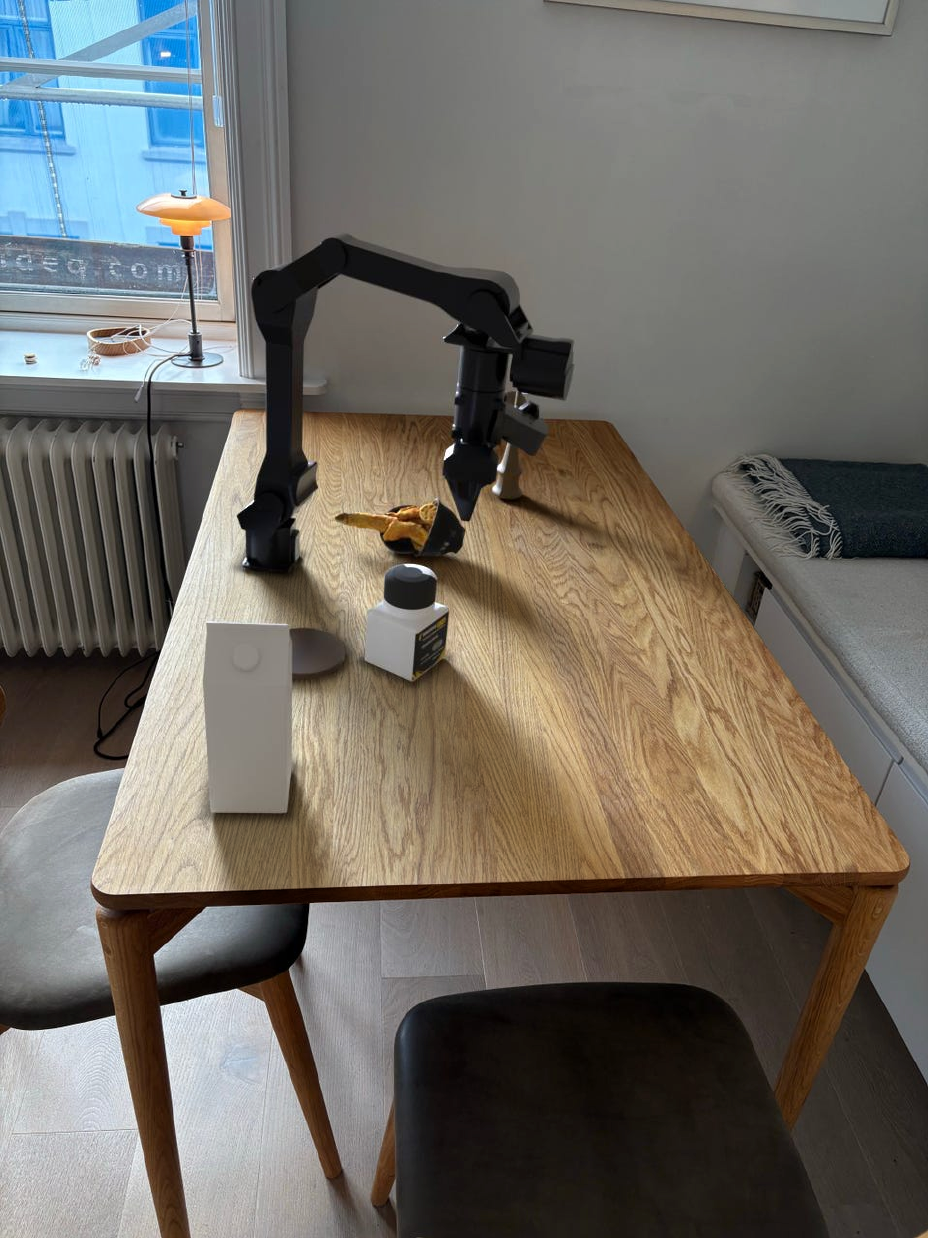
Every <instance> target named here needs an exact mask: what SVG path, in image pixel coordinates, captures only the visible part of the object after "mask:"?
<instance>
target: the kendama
mask: <svg viewBox="0 0 928 1238" xmlns="http://www.w3.org/2000/svg"><path fill="white" fill-rule="evenodd" d="M505 393H506V394H507V400H506V404H509V405H511V406H513V407H516V405H517V406H519V407H521V406H522V405H524V404H525V403H526V402H528V401H527V399H526V396H525V395H524V394H523V393H518V392H517V390H516V391H515V390H507V391H506V390H505ZM506 443H507V442H506ZM519 455H520V454H519V448H517V447H515V446H513V445H511V444H509V443H507V444H506V447H505V451H504V454H503V457H502V459H501V462H500V463H498V467H497V475H498V476H497V479H496V482H495V484H494V485H493V487H492V488H491V491H492V494H493V495H494V496H495V497H496V498H499V499H503V500H516V499H519V498H521V497H522V495H523V492H522V488H521V487H520V476H521V475H522V474H523V472H524V471H523V468H522V467H521V465H520V456H519Z"/></svg>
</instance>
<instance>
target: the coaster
mask: <svg viewBox="0 0 928 1238" xmlns="http://www.w3.org/2000/svg"><path fill="white" fill-rule="evenodd" d="M289 635H290V637H291V640H292V680H293V679H294V680H310V679H318V678H322V677H326V676H327V675H330V674H332V673H334V672H336V671H337V670H338V669H339V668H340V667H342V665H343V663H344V662H345V661H346V660H345V659H346V646H345V644H344V642H343V641H342V640H341V639H340V638H339V637H337V635H335V634H333V633H331V632H329V631H326V630H323V629H319V628H312V627H294V628H293V627H292V628H289Z"/></svg>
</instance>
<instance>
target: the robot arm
mask: <svg viewBox="0 0 928 1238" xmlns="http://www.w3.org/2000/svg"><path fill="white" fill-rule="evenodd" d="M339 276H344V277H346V278H350V279H353V280H356V281H360V282H362V283H367V284H369V285H372V286H376V287H378V288H382V289H385V290H388V291H391V292H394V293H397V294H400V295H403V296H406V297H410V298H413V299H416V300H419V301H422V302H425V303H429V304H431V305H433V306H435V307H437V308H438V309H440V310H441V311H442V312H444V314H446V315H447V316H449V317H450V318H451V319H453V320H455V321H456V322H458V323H457V325H456V326H455V328H454V329H453V330H452V331H450V332H449V333H448V334H446V335H445V336H444V337H443V342H444V343H445V344H448V345H455V346H460V351H459V352H460V353H459V363H458V372H457V373H458V375H457V383H456V392H455V395H454V402H453V403H454V404H453V405H454V416H453V424H452V429H451V435H450V438H451V439H453V441H454V443H453V444H452V445H450V446H449V447H448V448H446V450H445V454H444V458H443V464H442V474H441V475H442V476H443V478H444V480H446V482H447V485H448V488H449V490H450V493H451V495H452V498H453V501H454V505H455V507H456V510H457V512H458V515H459V518H460V521H462V522H467V523H468V522H471V520H472V517H473V514H474V510H475V508H476V505H477V502H478V499H479V496H480V494H481V491H482V489H483V488H485V487H486V486H490V485H492V484H494V483H496V482H497V475H498V471H497V467H498V465H499V459H500V458H499V457H500V456H499V453H497V452H496V450H495V448H496V447H497V446H502V440H503V441H504V442H505V443H509V444H511V445H513V446H515V447H517V448H518V450H522V451H523V452H524V453H525V454H526V455H528V456H531V457H536V456H537V454H538V452H539V450H540V449H541V447H542V445H543V443H544V441H545V439H546V438H547V436H548V434H549V426H548V423H547V422H546V419H544V418H540V404H538V403H537V402H536V403H535V402H534V401H532V400H528V401H527V402H526V403H525V404H524V405H522V406H521V407H519V406H517V405H516V407H513V406H511V405H509V404H506V400H507V394H506V393H505V392H506V387H507V378H508V372H509V382H510V383H511V385H512V388H514V389H516V392H518V393H522V394H523V395H531V396H536V397H541V398H548V399H552V400H556V401H557V400H558V401H563V402H565V401H566V400H567V397H568V396H569V393H570V389H571V385H572V379H573V375H574V369H575V363H573V362H574V345H575V340H574V339H572V338H568V337H550V336H544V335H539V334H533V333H534V328H533V326H532V323H531V322H530V320H529V319H528V317H527V315H526V312H525V311H524V309H523V307H522V305H521V303H520V301H521V293H520V288H519V286H518V284H517V282H516V281H515V279H514V277H513V276H512V275H511V274H509V273H507V272H505V271H503V270H496V269H488V268H478V267H453V266H445V265H441V264H439V263H435V262H432V261H429V260H425V259H422V258H420V257H416V256H413V255H410V254H406V253H403V252H400V251H397V250H393V249H390V248H388V247H385V246H381V245H377V244H374V243H371V242H368V241H365V240H361V239H358V238H356V237H355V236H353V235H351V234H349V233H344V232H341V233H338V234H335V235H332V236H329V237H327V238H325V239H324V240H322V241H321V242H320V244H318V245H317V246H316V247H314V248H313V249H311V250H309V252H307V253H305V254H303V255H302V256H300V257H299V258H297V259H295V260H294V261H286V262H284V263H281V264H278V265H276V266H273V267H271V268H268V269H265V270H263V271H261V272H260V273H259V274H258V275H256V276H255V278H253V280H252V283H251V286H250V298H251V304H252V305H251V306H252V311H253V316H254V322H255V324H256V326H257V328H258V330H259V332H260V334H261V336H262V338H263V341H264V346H265V347H264V348H265V350H264V351H265V355H264V356H265V359H264V360H265V361H264V362H265V453H264V457H263V460H262V462H261V465H260V468H259V470H258V473H257V475H256V481H255V485H254V493H253V501H251V502H249V504H248V505H247V506H246V507H244V508H243V509H242V510H240V511H239V512H238V513H237V514H236V518H237V521H238V524H239V526H240V529H241V530H243V531H244V533H245V536H244V537H245V558H244V560H243V562H242V563H241V567H242V568H244V569H249V570H250V569H251V570H258V571H265V572H273V573H281V574H288V573H290V571H291V569H292V568H293V566H294V565H295V564H296V563H297V562H298V559H299V558H300V555H301V552H300V551H301V530H299V529H298V528H297V519H296V517H294V516H295V515H296V514H298V513H299V512H300V510H301V509H302V508H303V507H304V506H305V505H306V504H308V502H309V501H310V500H311V499H312V497H313V496H314V493H315V492H316V491H317V490H318V489H319V484H318V483H317V482H318V481H317V471H318V467H319V466H318V465H319V464H318V461H309V460H308V458H307V456H306V454H305V452H304V449H303V448H304V447H303V429H304V427H303V426H304V425H303V419H304V358H305V357H304V354H305V353H304V351H305V350H304V349H305V339H306V337H307V334H308V331H309V329H310V326H311V324H312V321H313V318H314V314H315V310H316V305H317V299H318V293H319V290H321V289H322V288H323V287H325V286H327V285H328V284H329V283H331V282H332V281H334V280H335V279H337V278H338V277H339ZM510 355H512V357H511V361H510ZM509 362H510V368H509ZM508 370H509V371H508Z"/></svg>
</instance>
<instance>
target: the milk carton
mask: <svg viewBox="0 0 928 1238" xmlns="http://www.w3.org/2000/svg"><path fill="white" fill-rule="evenodd" d="M205 622H206V624H205V625H206V637H205V638H206V639H205V650H204V662H203V672H202V690H203V691H202V692H203V707H204V709H203V710H204V724H205V725H204V726H205V727H204V728H205V741H206V758H207V759H206V760H207V776H208V792H209V793H208V794H209V795H208V796H209V810H210V812H211V813H217V814H218V813H221V814H222V813H224V814H226V813H227V814H230V813H231V814H232V813H233V814H236V813H237V814H286V813H287V812H288V807H289V806H288V804H289V795H290V785H291V777H292V768H293V678H292V640H291V637H290V635H289V629H290V623H269V622H267V623H265V622H237V621H236V622H235V621H210V620H209V621H205Z"/></svg>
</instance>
